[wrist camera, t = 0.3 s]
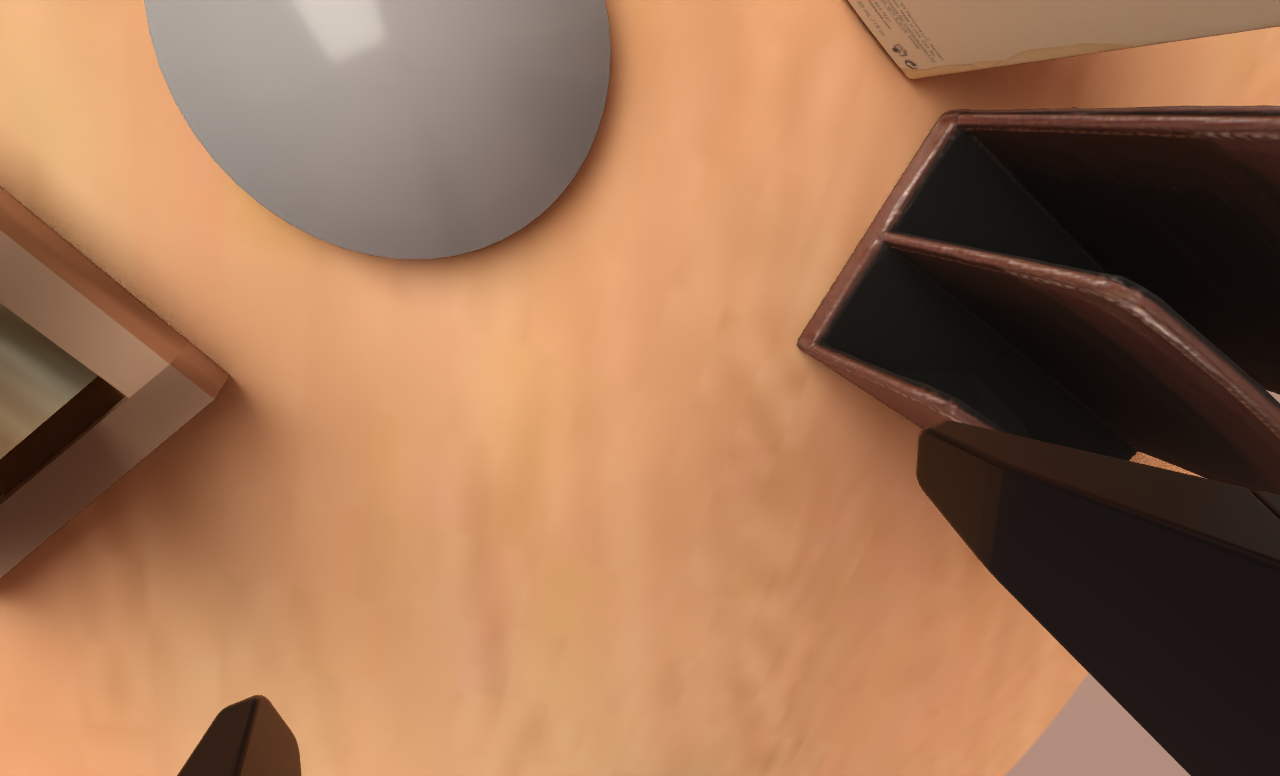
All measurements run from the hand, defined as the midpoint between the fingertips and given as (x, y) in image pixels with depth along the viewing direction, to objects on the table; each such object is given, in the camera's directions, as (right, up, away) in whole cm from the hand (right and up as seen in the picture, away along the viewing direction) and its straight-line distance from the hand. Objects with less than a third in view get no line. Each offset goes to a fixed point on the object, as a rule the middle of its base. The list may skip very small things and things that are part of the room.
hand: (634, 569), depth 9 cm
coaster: (-6, +11, +9) cm, 16 cm away
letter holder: (+16, +4, +21) cm, 27 cm away
